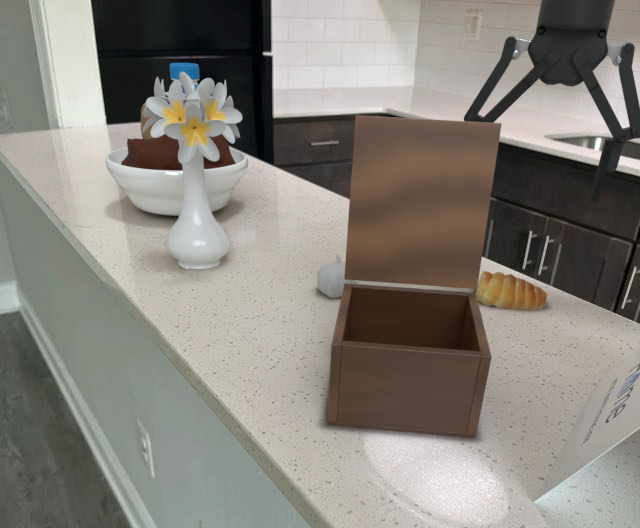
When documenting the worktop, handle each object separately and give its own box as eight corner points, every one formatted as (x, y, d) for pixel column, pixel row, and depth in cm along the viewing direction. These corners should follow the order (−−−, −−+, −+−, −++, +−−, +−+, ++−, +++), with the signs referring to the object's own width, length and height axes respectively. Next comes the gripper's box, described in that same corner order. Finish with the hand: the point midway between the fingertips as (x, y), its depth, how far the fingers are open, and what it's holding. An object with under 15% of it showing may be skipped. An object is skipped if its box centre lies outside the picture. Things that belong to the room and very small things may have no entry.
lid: (501, 123, 61) (500, 123, 62) (355, 115, 62) (355, 115, 63) (477, 289, 68) (476, 287, 68) (344, 279, 69) (344, 278, 69)
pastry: (545, 299, 91) (551, 273, 89) (542, 318, 86) (549, 291, 83) (477, 289, 93) (481, 263, 91) (470, 307, 88) (475, 280, 86)
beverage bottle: (207, 158, 161) (202, 66, 150) (172, 158, 160) (164, 65, 149) (207, 151, 168) (202, 62, 157) (173, 151, 167) (166, 61, 156)
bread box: (474, 442, 61) (491, 356, 56) (327, 429, 62) (331, 344, 57) (462, 367, 73) (476, 292, 68) (339, 358, 74) (344, 282, 69)
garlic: (328, 284, 93) (329, 248, 90) (362, 292, 91) (365, 255, 88) (308, 298, 88) (309, 260, 86) (343, 306, 86) (346, 268, 84)
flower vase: (174, 293, 88) (155, 85, 75) (146, 250, 102) (126, 69, 88) (265, 282, 93) (263, 84, 79) (227, 242, 107) (219, 69, 93)
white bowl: (103, 197, 127) (91, 112, 119) (227, 190, 136) (224, 110, 128) (124, 235, 108) (111, 137, 100) (267, 223, 117) (266, 132, 109)
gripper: (458, -19, 69) (432, 188, 81) (715, -9, 64) (647, 212, 75) (466, -17, 75) (440, 175, 87) (701, -8, 70) (640, 196, 81)
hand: (536, 193), depth 81 cm, fingers open, 13 cm apart
